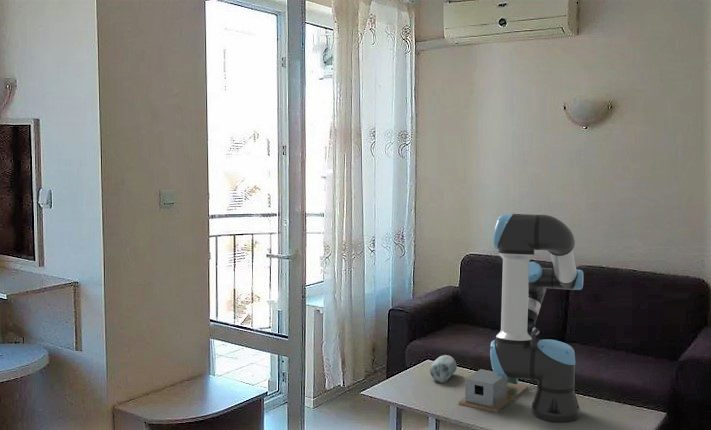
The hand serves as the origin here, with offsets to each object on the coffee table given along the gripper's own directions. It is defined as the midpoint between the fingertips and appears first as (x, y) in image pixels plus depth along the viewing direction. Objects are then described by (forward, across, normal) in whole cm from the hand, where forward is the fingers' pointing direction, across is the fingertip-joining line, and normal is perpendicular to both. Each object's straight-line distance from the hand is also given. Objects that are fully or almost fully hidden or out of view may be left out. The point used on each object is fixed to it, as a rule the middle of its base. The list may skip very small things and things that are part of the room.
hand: (510, 366), depth 255 cm
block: (+10, 0, +4) cm, 11 cm away
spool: (+10, +24, 0) cm, 26 cm away
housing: (+15, 0, +5) cm, 16 cm away
